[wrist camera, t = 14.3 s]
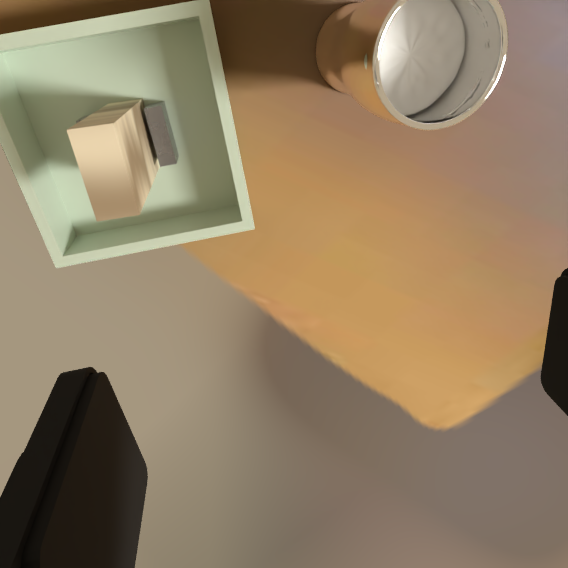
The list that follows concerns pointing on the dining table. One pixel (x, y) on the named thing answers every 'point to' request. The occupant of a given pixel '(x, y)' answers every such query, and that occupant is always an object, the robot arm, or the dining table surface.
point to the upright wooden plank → (115, 158)
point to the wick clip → (160, 133)
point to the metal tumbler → (415, 57)
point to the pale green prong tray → (114, 88)
